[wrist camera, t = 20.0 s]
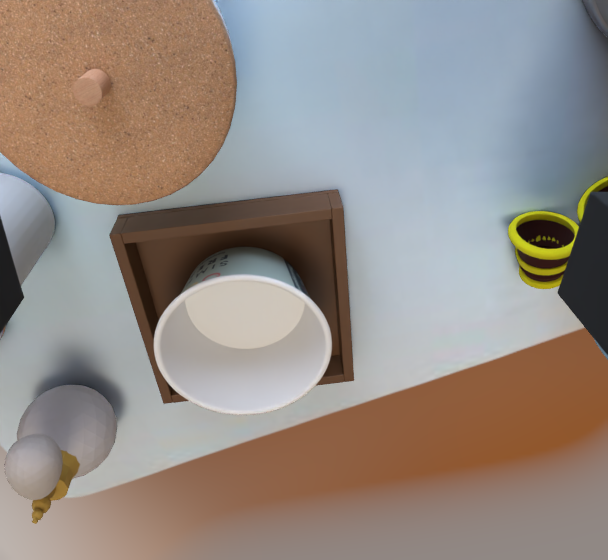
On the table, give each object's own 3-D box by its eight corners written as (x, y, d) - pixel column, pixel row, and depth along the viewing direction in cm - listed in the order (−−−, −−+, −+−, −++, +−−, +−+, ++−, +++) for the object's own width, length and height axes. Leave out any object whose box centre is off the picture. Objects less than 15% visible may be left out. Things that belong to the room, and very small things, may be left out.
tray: (337, 189, 39) (343, 207, 37) (349, 356, 48) (354, 380, 45) (118, 215, 39) (108, 234, 37) (168, 378, 48) (163, 404, 45)
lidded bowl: (275, 98, 35) (281, 159, 26) (105, 178, 37) (55, 261, 28) (172, -126, 29) (132, -151, 20) (-27, -15, 31) (-148, 9, 22)
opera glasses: (508, 262, 45) (536, 306, 41) (495, 217, 41) (526, 260, 38) (629, 211, 43) (670, 252, 39) (627, 159, 39) (671, 198, 36)
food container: (230, 197, 39) (225, 241, 33) (354, 287, 43) (368, 339, 38) (136, 309, 43) (118, 365, 37) (258, 380, 48) (258, 439, 42)
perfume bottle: (61, 439, 50) (12, 567, 40) (2, 361, 45) (-71, 486, 35) (138, 419, 50) (108, 544, 40) (87, 338, 45) (38, 458, 35)
